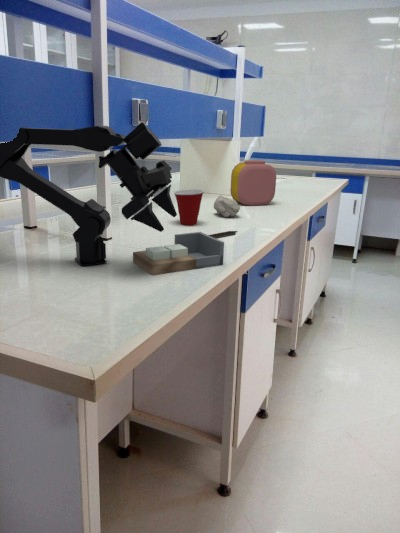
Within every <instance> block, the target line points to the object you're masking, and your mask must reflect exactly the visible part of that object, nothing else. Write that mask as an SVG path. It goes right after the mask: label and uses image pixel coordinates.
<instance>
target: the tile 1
mask: <svg viewBox="0 0 400 533" xmlns="http://www.w3.org/2000/svg"><path fill="white" fill-rule="evenodd" d="M145 251H146V256H147V257H149V258H150V259H152V260H161V259H168V258H170V250H168V249H167V248H165V247H164V245H160V246H153V247H152V246H150V247H146V248H145Z"/></svg>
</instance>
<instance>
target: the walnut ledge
mask: <svg viewBox="0 0 400 533" xmlns="http://www.w3.org/2000/svg"><path fill="white" fill-rule="evenodd" d="M132 262H133V263H135V264H136V265H137V266H139V267H140V268H142V269H143V270H144V271H146V272H147V273H149V274H150V275H152V276H155V275H161V274H168V273H175V272H176V271H177V272H181V271H191V270H195V269H196V262H197V259H196V258H194V257H192V256H190V255H188V256H183V257H176V258H171V257H170V258H168V259H161V260H152V259H150V258H149V257H147V256H146V250H139V251H132Z"/></svg>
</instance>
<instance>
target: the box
mask: <svg viewBox="0 0 400 533" xmlns="http://www.w3.org/2000/svg"><path fill="white" fill-rule="evenodd" d="M209 235H210V234H206V233H204V232H202V231H197V232H186V233H177V234H174V244H173V245H176V244H180V245H182V246H184V247H186V248H188V255H190V256H192V257H194V258H196V259H197V262H196V269H202V268H207V267H216V266H221V265H224V255H225V254H224V253H225V252H224V251H225V250H224V249H225V241H222V240H220V239H217V238H213V237H211V236H209Z"/></svg>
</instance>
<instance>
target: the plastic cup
mask: <svg viewBox="0 0 400 533" xmlns="http://www.w3.org/2000/svg"><path fill="white" fill-rule="evenodd" d="M204 192H205V190H203V189H192V188H191V189H179V190H176V191H173V195H174V197H175V199H176V204H177V209H178V210H177V211H178V215H179V222H180V225H183V226H195V225H197V223H198V219H199V218H198V217H199V214H200V208H201V203H202V199H203V198H202V197H203V194H204Z"/></svg>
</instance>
